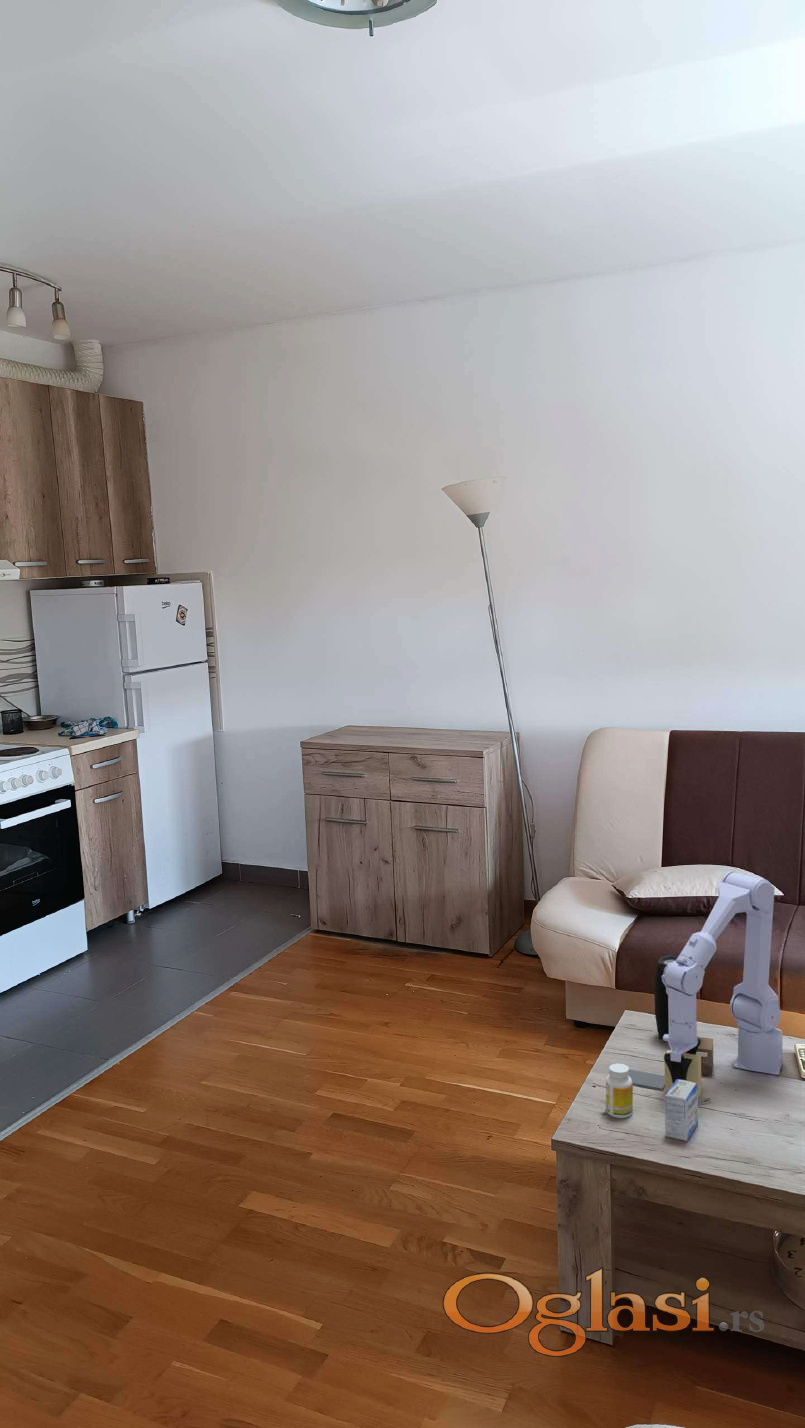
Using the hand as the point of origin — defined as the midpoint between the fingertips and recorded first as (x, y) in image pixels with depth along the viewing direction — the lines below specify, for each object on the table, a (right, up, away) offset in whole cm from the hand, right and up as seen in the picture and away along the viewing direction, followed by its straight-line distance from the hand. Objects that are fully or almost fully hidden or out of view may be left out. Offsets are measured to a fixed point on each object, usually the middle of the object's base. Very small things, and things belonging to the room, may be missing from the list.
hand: (682, 1080), depth 210 cm
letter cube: (+7, -1, +10) cm, 12 cm away
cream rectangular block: (0, -3, 0) cm, 3 cm away
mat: (-7, -2, +6) cm, 9 cm away
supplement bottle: (-15, -4, -7) cm, 17 cm away
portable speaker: (+5, 0, +26) cm, 26 cm away
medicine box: (-5, -5, -15) cm, 17 cm away
